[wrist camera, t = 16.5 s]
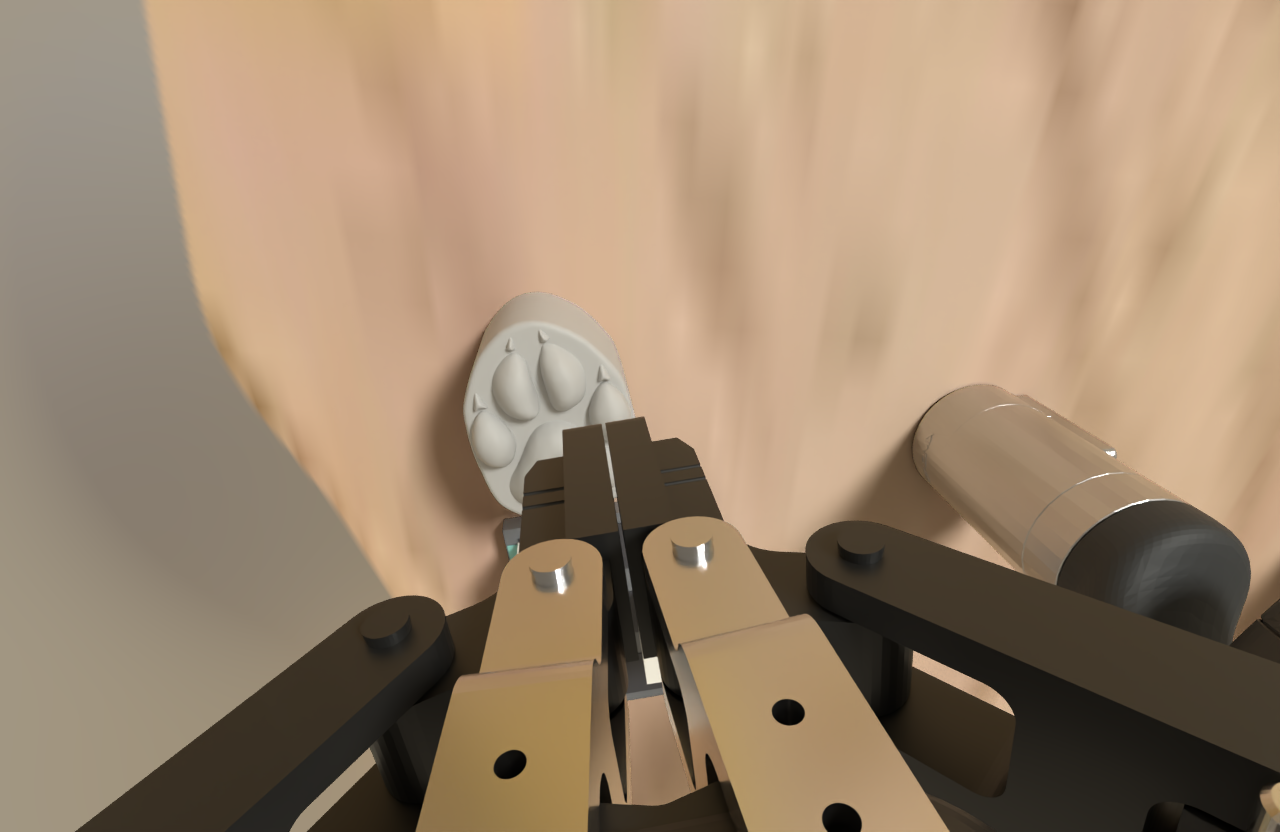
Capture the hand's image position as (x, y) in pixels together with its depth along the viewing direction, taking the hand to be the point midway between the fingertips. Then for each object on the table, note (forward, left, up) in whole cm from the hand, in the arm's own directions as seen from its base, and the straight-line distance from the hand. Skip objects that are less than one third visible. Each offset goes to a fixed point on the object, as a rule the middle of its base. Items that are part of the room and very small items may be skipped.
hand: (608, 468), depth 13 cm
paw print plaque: (+3, +11, -35) cm, 37 cm away
